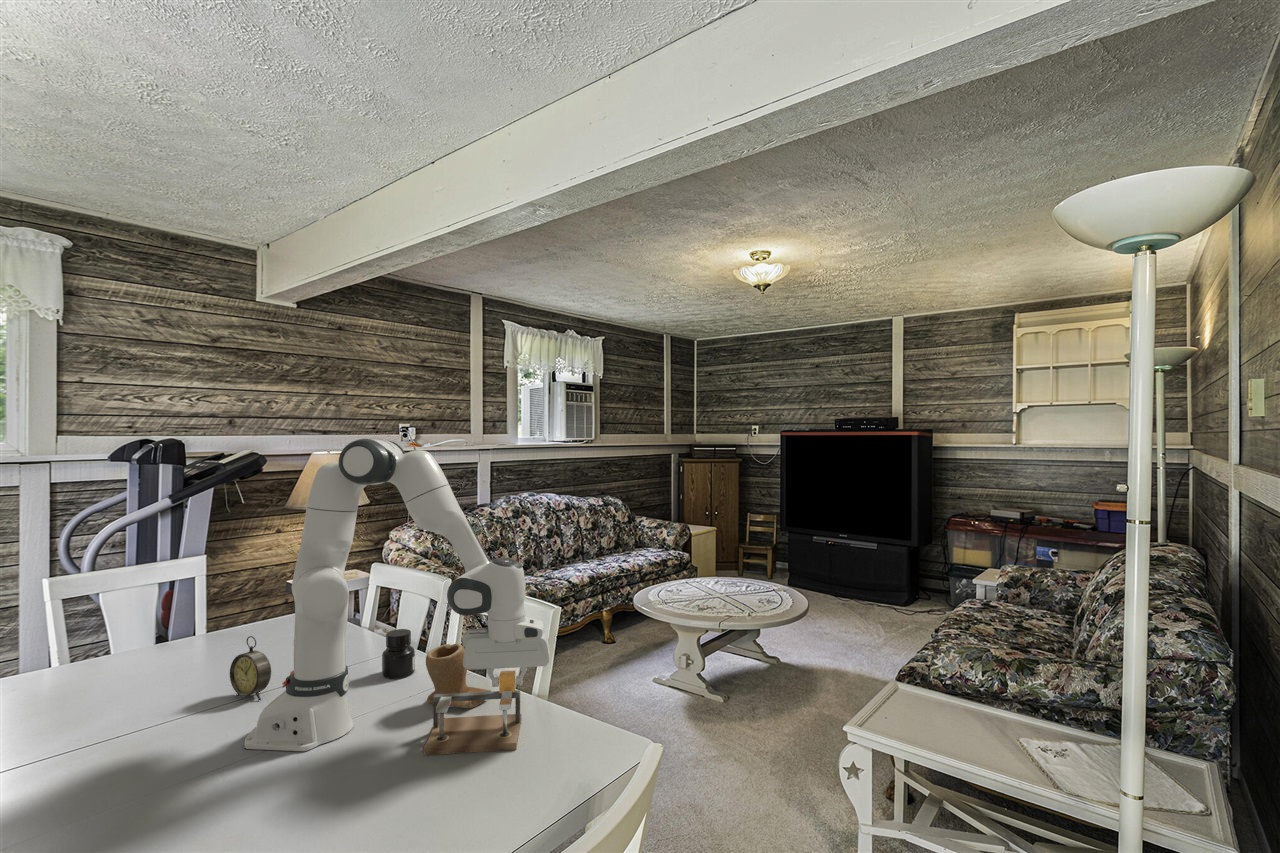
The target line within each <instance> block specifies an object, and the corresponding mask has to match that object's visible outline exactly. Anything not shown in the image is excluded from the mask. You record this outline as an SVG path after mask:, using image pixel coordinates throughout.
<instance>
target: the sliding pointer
mask: <svg viewBox="0 0 1280 853" xmlns="http://www.w3.org/2000/svg"><path fill="white" fill-rule="evenodd" d="M516 671H517V670H501V671H500V672H499V676H498V677H499V686H498V688H499V690H498V691H499V693H502V696H501V699H499V700H500V701H499V704H498V705H499V706H498V710H499V711H502V715H503V734H506V733H507V715H508V710H509V711H510V710H511V706H512V703H513V702H512V701H513V698H512V692H515V690H516V687H517V686H516V676H517V675H516Z"/></svg>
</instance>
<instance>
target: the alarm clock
mask: <svg viewBox="0 0 1280 853" xmlns="http://www.w3.org/2000/svg"><path fill="white" fill-rule="evenodd" d="M250 638H251V639H253V640H254V646H252V645H251V646H250V645H249V639H250ZM246 645H247V647H248V649H249V650H248V652H244V653H240V654H238V655H236V656H235V658H234V659H233V660H232V662H231V663H230V668H229V682H230V684H231V686H232V689H233V691H234V692H236V693H235V694H236V695H235V696H237V694H239V695H238V696H241V697H249V696H252V695H255V696H256V698H257V700H258V701H261V696H260V693H261V692H262V691H263V690H265V689H266V688H267V686H268V685H269V683H270V680H271V677H272V666H271V663H270V660H269V658H268V657H267V655H266V654H264V653H263V652H262V651H259V650H254V648H256V647H257V639H256V638H255V637H254V636H253V635H249V636H248V637H247V639H246ZM259 692H260V693H259Z"/></svg>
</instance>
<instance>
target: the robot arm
mask: <svg viewBox="0 0 1280 853" xmlns="http://www.w3.org/2000/svg"><path fill="white" fill-rule="evenodd" d="M386 483H390V484H392V485H394V486H395V487H396V489H397V490H398V493H400V495H401V498H402V501H403V503H404V504H405V507H406V510H407V512H408V514H409V516H410V517H411V518H412V520H413V521H414V523H415V524H416V526H418V527H419V528H420V529H422V530H423V531H426V532H432V533H435V534H438V535H439V536H442V537H444V538H445V539H447V540H448V541H449V543H450V544H451V546H452V548H453V549H454V551H455V553H456V555H457V556H458V558H459V561H460V562H461V563H462V566H463V568H464V570H465V571H464V573H463V574H462V575H460V576H458V577H457V578H456V579H454V580H453V581H452V582H451V583H450V585H449V586H448V588H447V593H446V599H447V603H448V605H449V607H450V608H451V610H452V611H453V612H454V613H455V614H458V615H460V616H466V617H467V616H475V615H481V614H485V613H486V614H487V627H484V628H483V627H482V628H470V629H468V630H466V631H465V632H464V633H463V634H462V638H461V639H462V646H463V647H464V648H465V651H464V659H463V666H464V668H465V669H466V670H467V671H472V670H473V671H474V670H486V674H487V676H488V677H489V678H490V680H491V687H493V688H496V687H499V676H496V675H495V673H494V670H495V669H515V668H518V669H519V668H520V674H519V675H516V687H517V686H523V680H524V676H525V675H526V673H527V669H528V668H534V667H535V668H536V667H547V666H548V665H549V663H550V661H551V653H550V651H551V650H550V644H549V638H548V635H547V633H545V623H544V621H543V620H540V619H538V618H537V619H536V618H534V617H530V616H527V613H526V612H527V611H526V609H525V599H526V594H527V593H526V579H525V578H526V576H525V571H524V568H523V566H522V564H521V562H518V561H517V560H515V559H512V558H508V557H503V558H501V557H497V558H494V559H491V558H490V557H489V555H488V554H487V552H486V550H485V548H484V547H483V545H482V543H481V541H480V539H479V538H478V536H477V533H476V531H475V530H474V528H473V526H472V525H471V523H470V521H469V520H468V518H467V517H466V515H465V513H464V512H463V510H462V508H461V507H460V504H459V502H458V501H457V500H458V499H456V496H455V494H454V492H453V490H452V487H451V486H450V484H449V482H448V479H447V477H446V476H445V473H444V471H443V470H442V468H441V466H440V465H439V463H438V462H437V460H436V459H435V458H434V456H433V455H432V454H431V453H430V452H428V451H427V450H422V449H417V450H411V451H409V452H405V450H404V449H403V448H402V447H401V446H400V445H399V444H398V443H396V442H394V441H391V440H386V439H382V438H360V439H356V440H353V441H351V442H350V443H348V444H347V445H345V447H344V448H343V449H342V450H341V452H340V455H339V457H338V461H336V462H329V463H325V464H323V465H321V466H320V467H319V468H318V469H317V471H316V473H315V475H314V477H313V480H312V483H311V487H310V491H309V493H308V498H307V503H306V504H307V505H306V507H305V508H306V509H305V516H304V521H303V529H302V535H301V540H300V545H299V550H298V554H297V559H296V562H295V567H294V571H293V576H292V583H291V592H292V596H293V600H294V610H295V611H294V633H293V634H294V636H293V670H292V671H291V672H290V673H289V675H288V676H286V678H285V680H283V682H282V683H281V685H282V687H281V688H282V689H284V688H285V690H284V691H283V692H282V693H280V695H278V696H277V697H276V698H274V699H273V700H272V701H271V702H269V703H268V704H267V705H266V706H265V707H264V708H263V710H261V713H260V714H259V716H258V719H257V722H256V727H254V728H253V729H252V730H251V731H250V732H249V733H248V734H247V736H246V737H245V739H244V744H243V747H244V749H245V748H246V750H267V751H286V752H287V751H288V752H289V751H290V752H292V751H293V752H306V751H310V750H312V749H314V748H316V747H317V746H319V745H322V744H326V743H329V742H332V741H335V740H337V739H339V738H341V737H343V736H344V735H346V734H348V733H349V732H350V731H351V730H352V729H353V728H354V725H355V722H354V719H353V716H352V714H351V709H350V708H351V707H350V704H349V697H348V691H349V684H350V683H349V681H350V679H349V678H350V677H349V676H350V675H349V668H348V665H347V629H348V628H347V627H348V620H349V619H348V618H349V605H350V604H349V602H350V589H349V584H348V583H347V581H346V580H345V569H346V566H347V562H348V559H349V555H350V554H349V553H350V551H351V548H352V545H353V541H354V536H355V535H354V534H355V529H356V523H357V515H358V508H359V502H360V496H361V494H362V491H363V490H364V488H365V487H367V486H374V485H375V486H378V485H382V484H386Z"/></svg>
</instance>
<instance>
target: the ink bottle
mask: <svg viewBox="0 0 1280 853" xmlns="http://www.w3.org/2000/svg"><path fill="white" fill-rule="evenodd" d="M411 642H412V631H411V630H410V629H407V628H399V629H393V630H389V631H388V632H386V633H385V647H386V648H385V650H384V651H383V652H382V655H381V671H382V672H381V674H382V677H384V679H385V678H386V679H389V680H398V679H403V678H406V677H409V676H411V675H412V674H413V673H415V670H416V654H415V653H416V651H415V648H414V647H413V646H412V645H411V644H412V643H411Z"/></svg>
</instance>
